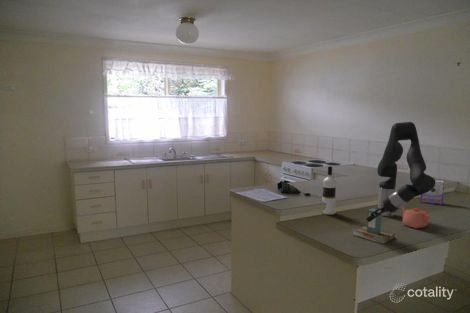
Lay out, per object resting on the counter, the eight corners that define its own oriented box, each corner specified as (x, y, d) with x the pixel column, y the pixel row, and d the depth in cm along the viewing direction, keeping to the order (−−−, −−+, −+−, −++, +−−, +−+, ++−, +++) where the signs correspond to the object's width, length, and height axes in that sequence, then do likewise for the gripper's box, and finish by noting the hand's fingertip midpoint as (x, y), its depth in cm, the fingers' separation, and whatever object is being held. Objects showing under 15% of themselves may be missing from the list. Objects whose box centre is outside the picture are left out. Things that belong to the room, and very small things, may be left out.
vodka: (334, 215, 213) (336, 168, 209) (319, 214, 217) (321, 167, 213) (336, 212, 221) (338, 166, 217) (322, 210, 225) (323, 165, 221)
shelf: (364, 229, 188) (365, 224, 187) (394, 237, 176) (394, 231, 175) (352, 235, 179) (353, 229, 178) (383, 243, 167) (383, 237, 167)
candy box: (442, 203, 245) (444, 180, 243) (442, 205, 240) (444, 182, 238) (420, 200, 252) (422, 178, 250) (420, 202, 247) (421, 179, 245)
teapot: (422, 231, 185) (424, 213, 184) (392, 222, 200) (394, 205, 199) (435, 228, 190) (436, 210, 189) (405, 219, 206) (406, 202, 205)
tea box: (371, 230, 180) (372, 208, 179) (380, 232, 177) (381, 210, 175) (366, 232, 177) (367, 210, 175) (376, 235, 173) (377, 212, 172)
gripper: (396, 192, 173) (373, 210, 183) (383, 197, 164) (360, 215, 174) (406, 205, 170) (382, 222, 180) (394, 210, 161) (369, 228, 170)
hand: (371, 218), depth 177 cm, fingers open, 8 cm apart
